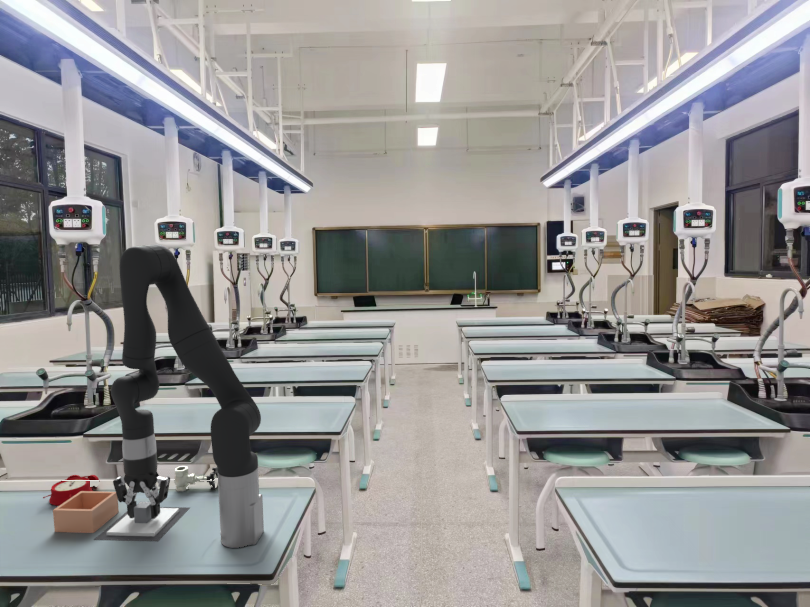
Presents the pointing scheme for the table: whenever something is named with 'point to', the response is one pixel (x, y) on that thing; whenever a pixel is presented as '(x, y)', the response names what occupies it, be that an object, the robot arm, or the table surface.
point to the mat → (143, 538)
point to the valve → (191, 478)
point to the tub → (85, 512)
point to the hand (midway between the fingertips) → (144, 516)
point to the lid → (143, 521)
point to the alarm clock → (69, 488)
